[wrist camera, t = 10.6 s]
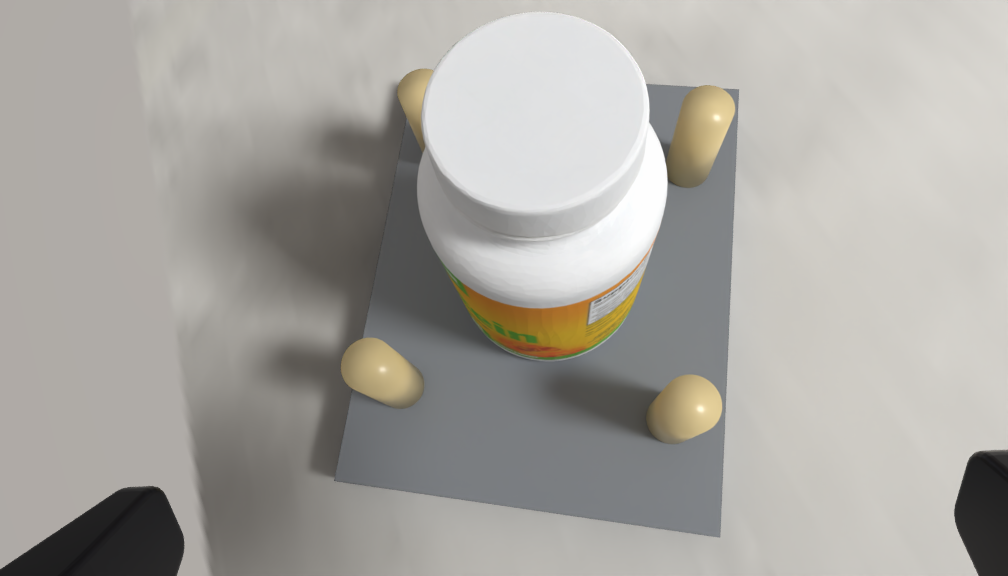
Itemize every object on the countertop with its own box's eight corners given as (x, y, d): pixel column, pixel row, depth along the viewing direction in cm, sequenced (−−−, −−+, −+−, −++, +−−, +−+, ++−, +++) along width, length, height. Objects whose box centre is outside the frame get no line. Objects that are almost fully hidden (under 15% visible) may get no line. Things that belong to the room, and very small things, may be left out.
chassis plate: (711, 534, 19) (753, 548, 15) (347, 481, 21) (284, 478, 16) (730, 109, 23) (768, 17, 19) (423, 89, 24) (389, 0, 20)
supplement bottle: (428, 288, 21) (315, 126, 12) (540, 168, 22) (518, -71, 13) (558, 402, 19) (548, 321, 10) (673, 269, 20) (759, 83, 11)
